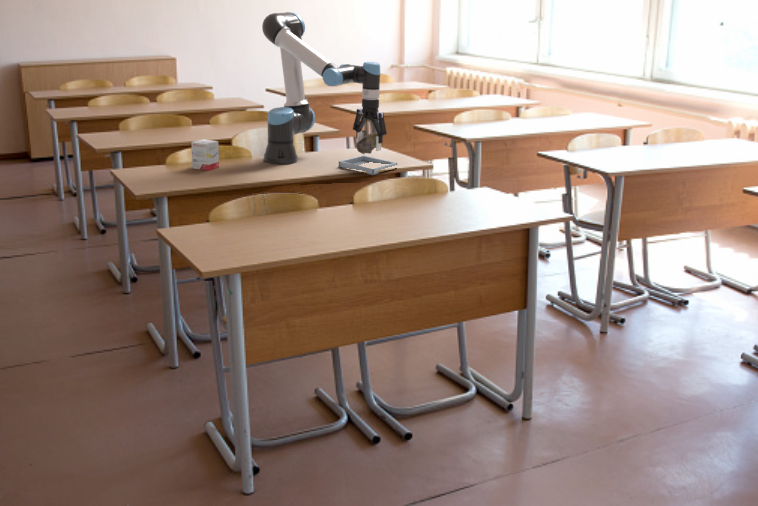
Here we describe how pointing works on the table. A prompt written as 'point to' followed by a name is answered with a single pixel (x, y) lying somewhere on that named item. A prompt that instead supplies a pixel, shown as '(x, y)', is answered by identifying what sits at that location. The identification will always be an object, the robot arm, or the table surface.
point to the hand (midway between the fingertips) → (368, 148)
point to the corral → (355, 162)
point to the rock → (367, 144)
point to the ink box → (205, 154)
